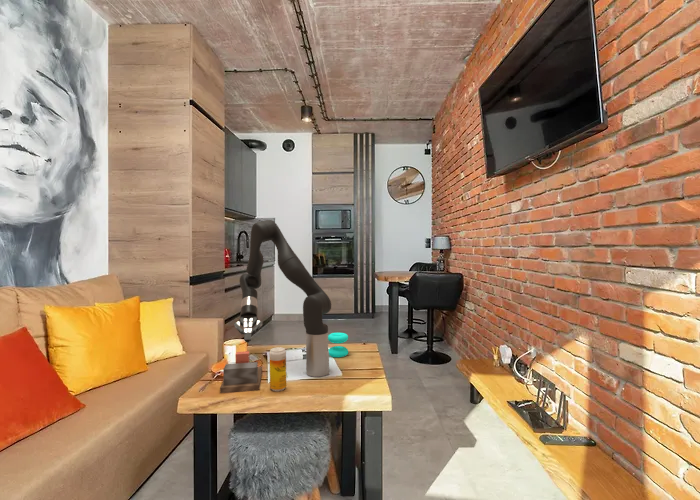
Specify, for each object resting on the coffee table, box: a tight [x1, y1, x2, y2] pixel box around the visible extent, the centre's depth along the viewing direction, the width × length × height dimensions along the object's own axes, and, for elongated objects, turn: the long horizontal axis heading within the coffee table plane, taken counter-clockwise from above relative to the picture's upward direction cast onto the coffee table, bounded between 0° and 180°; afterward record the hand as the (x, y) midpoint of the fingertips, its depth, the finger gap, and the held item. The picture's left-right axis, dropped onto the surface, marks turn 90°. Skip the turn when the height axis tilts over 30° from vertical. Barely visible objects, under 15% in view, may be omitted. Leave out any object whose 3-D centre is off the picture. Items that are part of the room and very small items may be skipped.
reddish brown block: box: [235, 350, 251, 364], centre depth 148 cm, size 5×3×9 cm, turn 100°
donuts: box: [328, 332, 349, 358], centre depth 179 cm, size 10×10×10 cm
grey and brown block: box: [219, 361, 263, 394], centre depth 147 cm, size 14×20×8 cm
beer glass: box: [268, 346, 287, 392], centre depth 140 cm, size 6×6×15 cm
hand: (247, 341), depth 162 cm, fingers closed
